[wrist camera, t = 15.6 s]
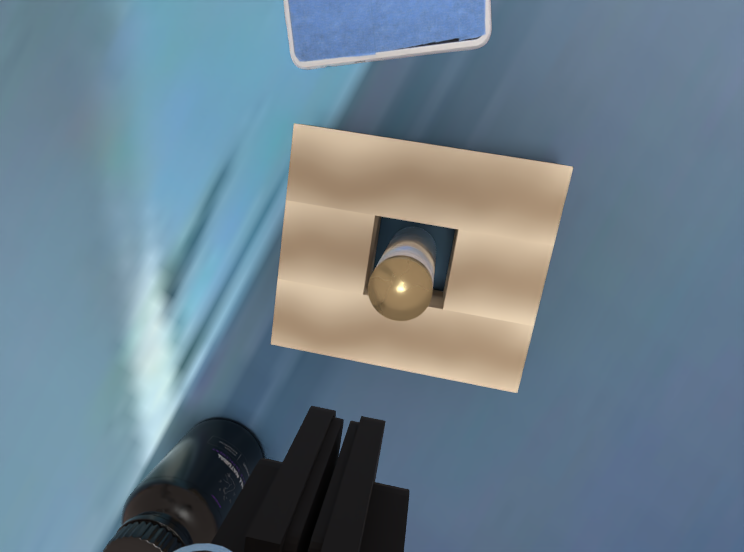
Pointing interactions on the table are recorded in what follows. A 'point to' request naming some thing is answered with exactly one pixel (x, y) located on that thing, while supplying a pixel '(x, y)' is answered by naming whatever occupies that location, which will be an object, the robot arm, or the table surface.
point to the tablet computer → (382, 29)
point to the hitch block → (428, 206)
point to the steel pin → (404, 275)
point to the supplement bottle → (188, 490)
